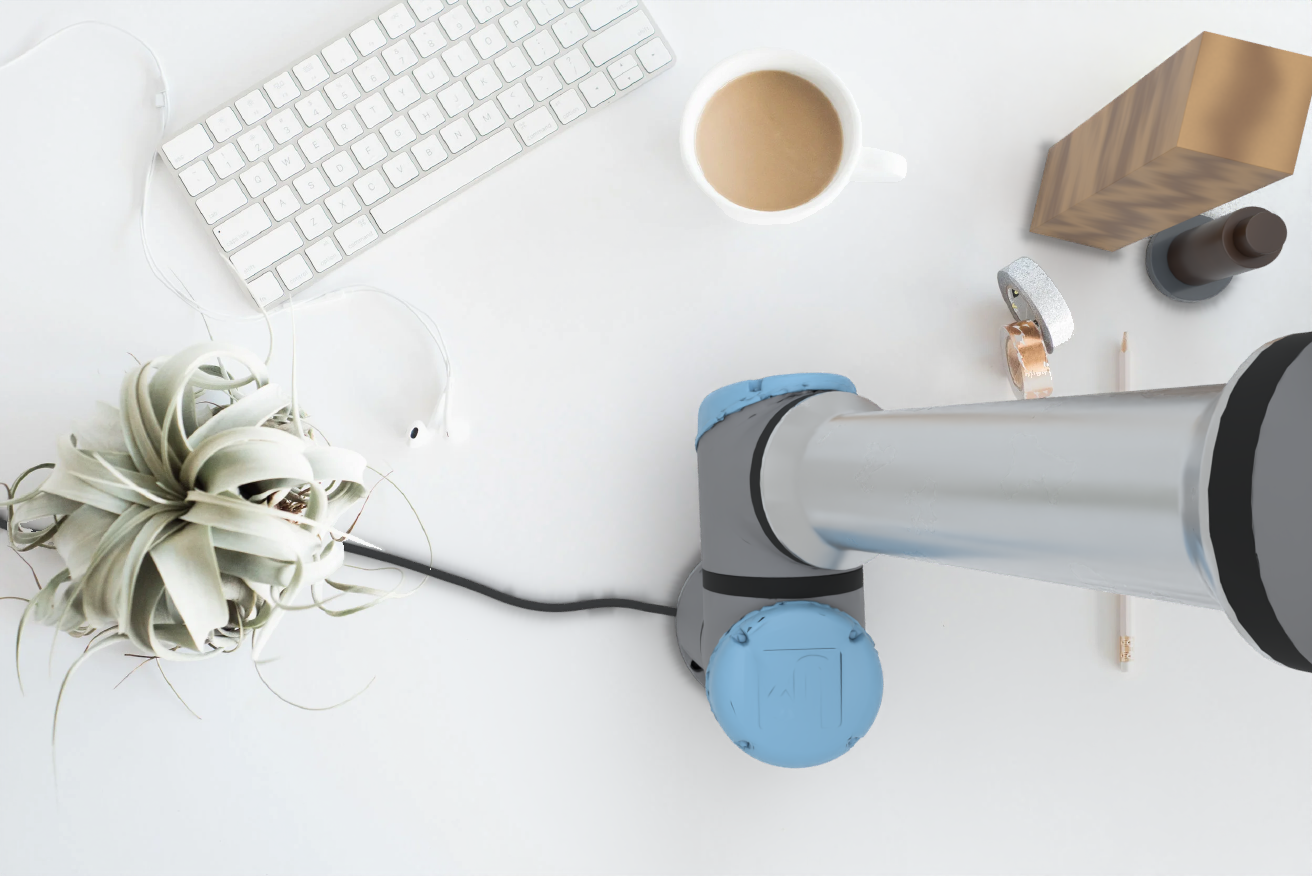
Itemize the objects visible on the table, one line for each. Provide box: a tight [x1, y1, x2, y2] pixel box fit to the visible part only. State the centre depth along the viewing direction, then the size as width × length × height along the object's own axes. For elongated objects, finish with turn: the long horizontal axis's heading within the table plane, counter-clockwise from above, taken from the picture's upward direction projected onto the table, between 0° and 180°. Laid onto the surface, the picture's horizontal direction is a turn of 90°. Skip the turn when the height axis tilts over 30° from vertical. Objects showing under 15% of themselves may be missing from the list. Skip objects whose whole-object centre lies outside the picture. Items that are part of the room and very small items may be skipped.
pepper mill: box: [1167, 205, 1288, 286], centre depth 72 cm, size 5×5×9 cm
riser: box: [1029, 30, 1312, 253], centre depth 66 cm, size 8×8×22 cm
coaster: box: [1145, 214, 1234, 303], centre depth 77 cm, size 8×8×1 cm
